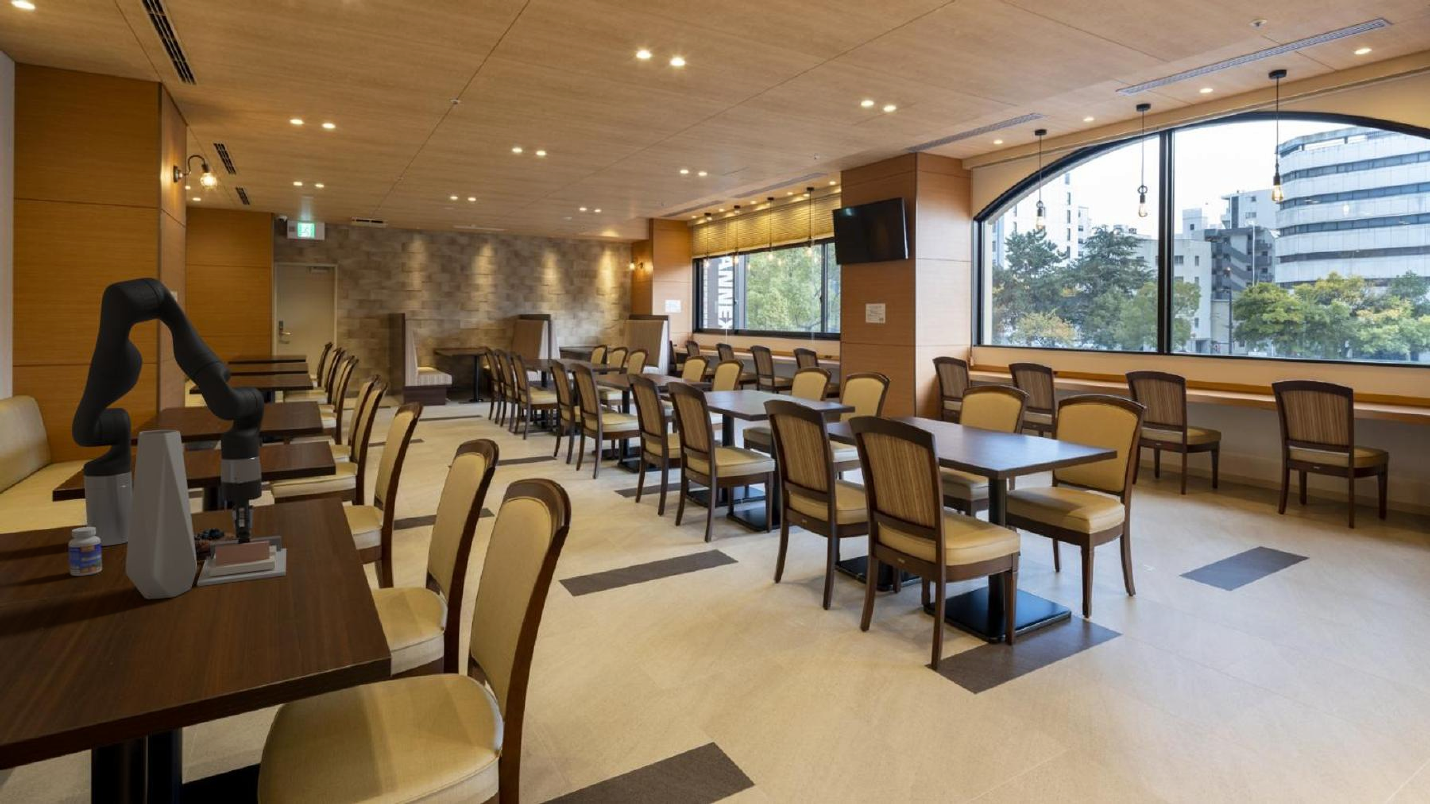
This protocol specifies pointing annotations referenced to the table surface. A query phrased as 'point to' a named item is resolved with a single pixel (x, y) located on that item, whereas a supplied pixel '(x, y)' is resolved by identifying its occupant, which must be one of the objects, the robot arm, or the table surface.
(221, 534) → the pastry
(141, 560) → the vase
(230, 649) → the table surface
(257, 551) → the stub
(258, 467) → the robot arm
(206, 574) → the white tray
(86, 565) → the pill bottle
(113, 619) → the table surface
